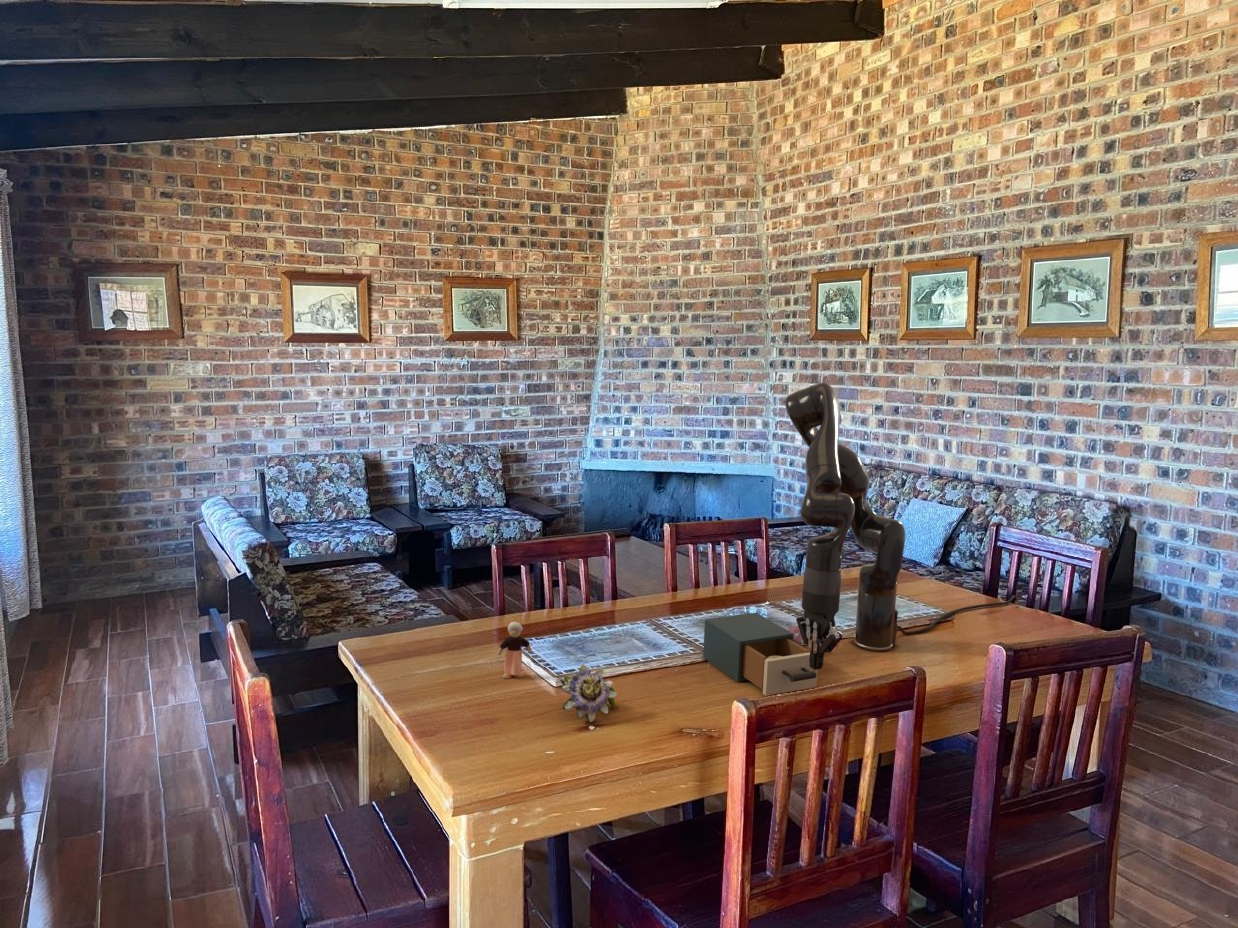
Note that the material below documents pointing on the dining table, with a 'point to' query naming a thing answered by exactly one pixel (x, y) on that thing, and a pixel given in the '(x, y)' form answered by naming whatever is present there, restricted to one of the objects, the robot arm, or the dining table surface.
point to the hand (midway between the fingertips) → (815, 668)
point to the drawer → (777, 666)
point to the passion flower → (588, 693)
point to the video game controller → (796, 634)
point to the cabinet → (737, 639)
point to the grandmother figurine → (513, 650)
